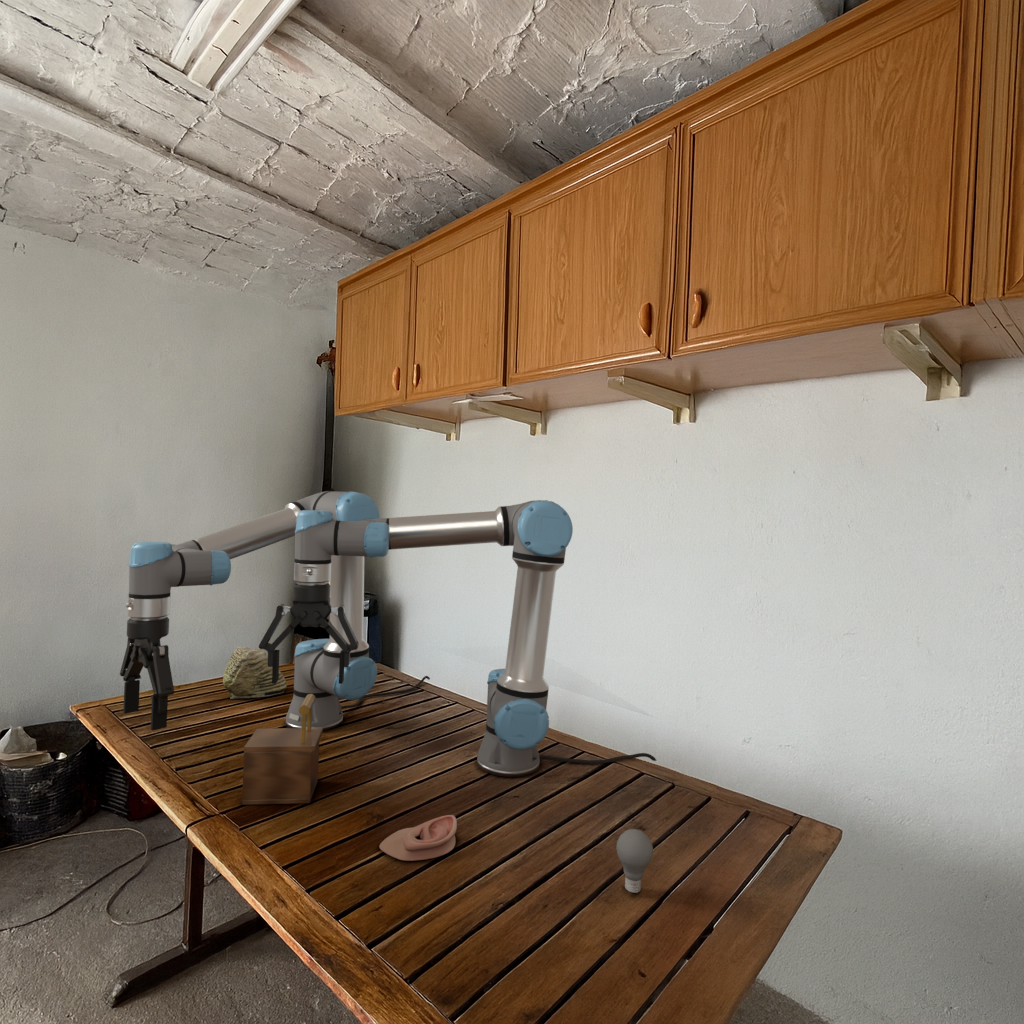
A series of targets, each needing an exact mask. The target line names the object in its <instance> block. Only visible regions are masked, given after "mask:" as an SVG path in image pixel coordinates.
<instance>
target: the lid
mask: <svg viewBox="0 0 1024 1024" xmlns="http://www.w3.org/2000/svg"><path fill="white" fill-rule="evenodd" d="M314 701H315V696H314V695H313V694H308V695H307V696H306V698H305V699H304V701H303V703H302V705H301V706H300V708H299V713H300V714H301V715H302V728H288V727H286V728H283V727H282V728H281V727H280V728H278V727H276V728H274V727H273V728H272V727H270V728H269V727H268V728H256V729H255V731H254V732H253V734H252V735H251V736H250V738H249V739H248V741H247V742H246V744H245V745H244V747H243V753H244V752H284V751H315V750H316V747H317V745H318V742H319V743H320V740H321V737H322V735H323V732H324V731H323V728H311V712H312V705H313V703H314ZM307 714H308V720H307V728H306V715H307Z"/></svg>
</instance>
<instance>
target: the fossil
mask: <svg viewBox="0 0 1024 1024" xmlns="http://www.w3.org/2000/svg"><path fill="white" fill-rule="evenodd" d="M222 676H223V677H222V685H223V687H224V688H225V690H226V691H228V693H229V698H230V699H250V698H264V697H271V696H275V695H281V694H284V693H285V691H286V689H287V687H288V686H287V680H286V678H285V676H284V674H283V673H282V672H281V669H279V678H278V681H277V683H276V684H272V667H268V653H266V652H265V650H264V649H260V648H259V647H258V648H251V647H247V646H246V647H245V646H238V647H237V648H236V649H235V650H233V651H232V653H231V656H230V657H229V659H228V660H227V663H226V666H225V668H224V671H223V675H222Z"/></svg>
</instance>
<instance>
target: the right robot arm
mask: <svg viewBox="0 0 1024 1024" xmlns="http://www.w3.org/2000/svg"><path fill="white" fill-rule="evenodd" d="M573 532H574V530H573V522H572V519H571V516H570V515H569V513H568V512H567V510H566V509H565V508H564V507H562V506H561V505H560V504H559V503H556V502H555V501H552V500H548V499H545V500H543V499H538V500H537V499H536V500H529V501H525V502H522V503H517V504H512V505H502V506H498V507H497V508H496V509H495V510H490V511H473V512H461V513H460V512H459V513H457V512H456V513H445V514H444V513H443V514H430V515H429V514H428V515H413V516H411V515H410V516H396V517H387V518H386V517H385V518H383V517H382V518H381V517H380V519H372V518H369V519H363V520H361V521H337V520H334V518H333V513H332V512H331V511H319V510H302V511H300V512H299V513H298V514H297V521H296V530H295V536H294V562H293V581H294V582H295V583H294V584H293V588H292V589H293V590H292V603H291V605H286V604H284V603H279V605H277V606H276V610H275V614H274V615H275V616H274V617H273V619H272V621H271V623H270V625H269V626H268V628H267V630H266V632H265V634H264V635H263V637H262V638H261V640H260V643H259V644H258V648H260V649H263V650H264V651H266V652H267V655H268V667H272V684H276V683H277V681H278V678H279V670H280V652H281V651H280V650H281V649H277V648H278V646H280V644H281V643H282V642H283V641H284V640H285V639H286V638H287V637H288V636H289V635H290V634H291V632H292V631H294V629H296V627H297V626H298V625H299V626H300V627H302V628H308V627H311V628H318V627H320V626H321V627H322V628H323V630H325V631H326V632H327V634H328V635H329V637H330V636H331V637H332V638H333V639H334V640H335V642H336V643H337V644H338V645H339V646H340V648H341V649H342V650H341V652H340V661H339V684H342V683H343V681H344V667H348V666H349V663H350V651H352V650H356V649H357V648H358V646H359V643H358V641H357V639H356V636H355V634H354V632H353V630H352V628H351V626H350V624H349V622H348V619H347V617H346V615H345V606H344V605H340V606H337V607H331V605H330V583H329V582H330V580H331V557H332V555H335V556H339V555H343V556H364V558H367V557H368V558H370V559H371V558H383V557H386V556H388V554H389V551H390V550H391V551H392V550H404V549H418V548H419V549H420V548H434V547H435V548H437V547H449V546H463V545H464V546H465V545H480V544H495V543H496V544H498V546H500V547H512V553H511V559H512V560H513V561H514V563H515V564H516V567H517V570H516V579H515V586H514V595H513V603H512V610H511V618H510V619H511V620H510V627H509V635H508V643H507V653H506V660H505V668H497V669H492V670H490V672H489V673H488V677H487V682H486V684H487V695H486V696H487V697H486V698H487V699H486V718H485V719H486V721H485V723H486V724H485V733H484V735H483V738H482V741H481V744H480V747H479V749H478V752H477V757H476V764H477V766H478V768H479V769H480V770H482V771H483V772H485V773H488V774H490V775H492V776H498V777H505V778H506V777H507V778H517V777H518V778H519V777H524V776H529V775H531V774H533V773H536V771H538V770H539V768H540V763H541V762H540V761H541V760H546V761H547V760H548V761H554V762H562V763H563V762H564V763H574V764H582V765H583V764H585V765H600V764H602V765H603V764H609V763H614V762H618V761H622V760H630V759H636V758H641V757H642V758H644V757H645V758H648V759H650V760H651V761H653V762H656V761H657V759H656V757H655V756H653V754H652V755H651V754H650V753H646V752H638V753H634V754H628V755H625V754H624V755H618V756H615V757H611V758H604V759H578V758H567V757H559V756H550V755H541V754H540V753H539V749H538V746H537V745H539V744H540V743H541V742H542V741H543V740H544V739H545V737H546V736H547V734H548V731H549V727H550V720H549V719H550V717H549V713H548V711H547V707H548V699H549V698H548V697H549V690H550V685H549V683H548V682H547V681H546V680H545V679H544V673H545V666H546V657H547V649H548V642H549V633H550V624H551V616H552V608H553V602H554V601H553V600H554V591H555V583H556V576H557V571H558V570H559V569H561V568H562V567H563V566H564V565H565V561H566V560H565V559H566V551H567V547H568V546H569V544H570V543H571V541H572V537H573ZM331 612H333V613H334V614H335V616H336V617H338V618H339V621H340V623H341V625H342V627H343V629H344V632H345V634H346V636H347V638H348V640H349V642H350V644H348V643H347V642H346V640H345V639H344V638H343V637H342V636H341V634H340V633H339V632H338V631H337V630H336V628H335V627H334V626H333V625H332V623H331V621H330V618H329V617H330V613H331ZM288 613H290V614H291V615H292V617H293V620H292V621H291V622H290V624H289V625H288V626H287V627H286V628H285V629H284V630H283V631H282V632H281V633H280V634H279V635H278V637H276V638H275V640H274V641H272V643H271V642H270V641H271V639H272V637H273V635H274V633H275V632H276V630H277V628H278V627H279V625H280V622H281V621H282V619H283V617H285V616H287V615H288Z"/></svg>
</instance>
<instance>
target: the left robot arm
mask: <svg viewBox="0 0 1024 1024" xmlns="http://www.w3.org/2000/svg"><path fill="white" fill-rule="evenodd" d="M302 510H319V511H331V512H332V513H333V518H334V520H337V521H361V520H363V519H369V518H372V519H381V516H380V510H379V507H378V505H377V503H376V502H375V501H374V500H373V499H372V497H370V496H369V495H368V494H365V493H362V492H357V491H353V490H351V491H337V490H336V491H334V490H333V491H332V490H326V491H325V490H324V491H321V492H317V493H313V494H312V495H309V496H306V497H303V498H301V499H297V500H295V501H292V502H289V503H287V504H285V506H284V508H283V509H280V510H277V511H274V512H271V513H268V514H265V515H262V516H259V517H256V518H253V519H250V520H248V521H244V522H242V523H241V522H240V523H238V524H235V525H232V526H229V527H227V528H223V529H220V530H217V531H215V532H211V533H208V534H206V535H202V536H199V537H197V538H193V539H191V540H187V541H184V542H182V543H179V544H178V543H177V544H174V543H173V544H171V543H170V542H166V541H139V542H135V543H134V544H132V546H131V548H130V553H129V563H128V602H126V603H125V608H127V616H128V617H129V618H128V620H127V621H126V637H127V642H126V649H125V652H124V656H123V660H122V663H121V668H120V670H119V671H120V672H119V676H120V677H122V679H123V682H124V686H123V689H124V690H123V709H122V711H123V714H130V713H135V712H139V711H140V687H141V686H140V684H141V679H142V675H141V672H142V671H143V668H144V669H146V670H147V673H148V676H149V681H150V684H151V688H152V692H153V693H152V695H151V696H150V699H151V711H150V712H151V713H150V731H156V730H161V729H166V728H167V726H168V724H167V723H168V703H169V696H172V695H174V694H175V688H174V683H173V675H172V669H171V664H170V658H169V657H170V655H169V654H170V653H169V645H168V644H165V645H164V644H163V645H162V644H161V639H162V638H165V637H167V636H168V635H169V633H170V618H169V617H168V616H169V615H170V614H171V590H172V588H179V587H192V586H193V587H194V586H195V587H196V586H213V585H221V584H222V585H223V584H224V583H226V582H227V581H228V579H229V578H230V576H231V572H232V561H231V560H233V559H236V558H238V557H241V556H244V555H247V554H249V553H252V552H255V551H257V550H260V549H263V548H265V547H268V546H271V545H274V544H276V543H279V542H282V541H285V540H287V539H291V538H292V537H295V530H296V521H297V514H298V513H299V512H300V511H302ZM329 582H330V583H329V585H330V605H331V607H337V606H340V605H344V606H345V615H346V617H347V619H348V622H349V624H350V626H351V628H352V630H353V632H354V634H355V636H356V639H357V641H358V643H359V646H358V648H357V649H356V650H352V651H350V663H349V666H348V667H344V681H343V683H342V684H339V661H340V652H341V650H342V649H341V648H340V646H339V645H338V644H337V643H336V642H335V640H334V639H333V638H332V637H331V636H330V635H329V638H318V639H308V640H304V641H300V642H299V643H297V644H296V646H295V650H294V655H293V657H294V672H293V673H294V674H293V695H292V696H293V697H292V699H291V702H290V704H289V708H288V711H287V713H286V715H285V726H286V728H302V715H301V714H300V713H299V708H300V706H301V705H302V703H303V701H304V699H305V698H306V696H307V695H308V694H313V695H314V696H315V701H314V703H313V705H312V712H311V728H323V732H325V731H329V730H332V729H335V728H337V727H339V726H340V725H342V723H343V722H344V714H343V710H344V709H352V708H356V707H358V706H359V705H360V703H361V701H362V700H364V699H367V698H371V697H382V696H388V695H396V694H403V693H408V692H411V691H414V690H415V689H417V688H418V687H419V686H420V685H421V684H423V682H424V681H425V680H426V679H427V680H429V681H430V680H431V678H430V676H428V675H424V676H423V678H421V680H420V681H419V682H417V683H416V684H415V685H414V686H412V687H409V688H407V689H401V690H393V691H387V692H377V693H370V694H368V693H369V692H370V690H371V689H372V688H373V687H374V685H375V683H376V681H377V677H378V666H377V664H376V662H375V661H374V660H373V659H372V658H370V645H369V643H368V642H367V641H366V640H365V639H364V613H365V612H364V611H365V609H364V607H365V605H364V604H365V597H364V596H365V557H364V556H343V555H339V556H335V555H332V557H331V580H330V581H329ZM329 620H330V621H331V623H332V625H333V626H334V627H335V628H336V630H337V631H338V632H339V633H340V634H341V636H342V637H343V638H344V639H345V640H346V642H347V643H348V644H350V642H349V640H348V638H347V636H346V634H345V632H344V629H343V627H342V625H341V623H340V621H339V618H338V617H336V616H335V614H334V613H333V612H331V613H330V615H329ZM340 699H341V700H347V701H357V702H356V703H353V704H346V705H341V702H340ZM307 720H308V714H307V715H306V728H307Z"/></svg>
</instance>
